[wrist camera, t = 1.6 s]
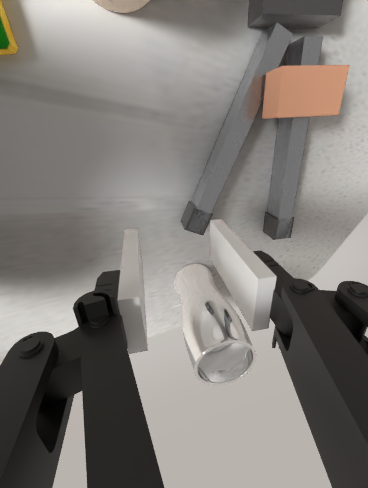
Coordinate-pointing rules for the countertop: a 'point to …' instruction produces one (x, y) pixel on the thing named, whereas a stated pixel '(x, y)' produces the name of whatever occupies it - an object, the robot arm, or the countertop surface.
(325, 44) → the countertop surface
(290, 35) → the tong arm
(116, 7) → the teacup with lid
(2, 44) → the dish sponge
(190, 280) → the beer glass
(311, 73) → the peach rectangular block
